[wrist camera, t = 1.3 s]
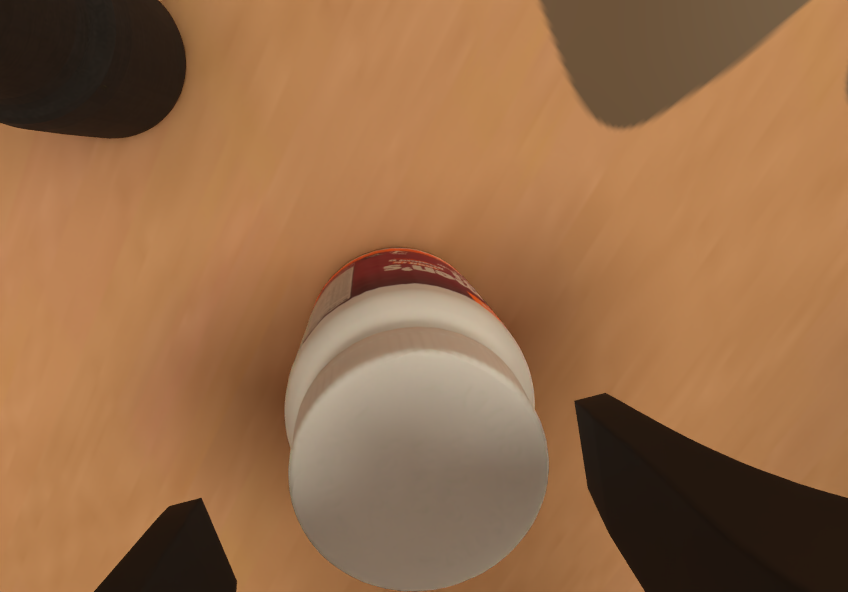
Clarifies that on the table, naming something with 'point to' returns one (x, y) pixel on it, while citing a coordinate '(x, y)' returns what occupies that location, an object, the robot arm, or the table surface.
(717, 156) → the table surface
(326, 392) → the pill bottle
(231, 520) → the table surface
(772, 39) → the table surface
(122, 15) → the flashlight
